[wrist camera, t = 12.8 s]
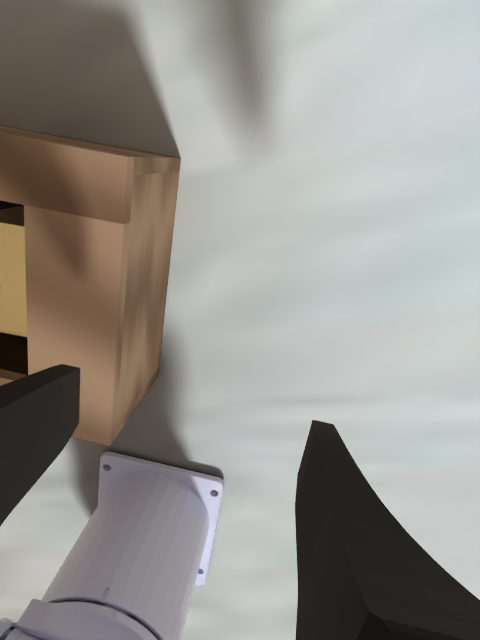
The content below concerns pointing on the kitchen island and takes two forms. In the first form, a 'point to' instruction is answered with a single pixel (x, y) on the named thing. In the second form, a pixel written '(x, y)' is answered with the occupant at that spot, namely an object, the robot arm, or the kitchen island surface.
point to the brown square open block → (91, 268)
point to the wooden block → (12, 272)
